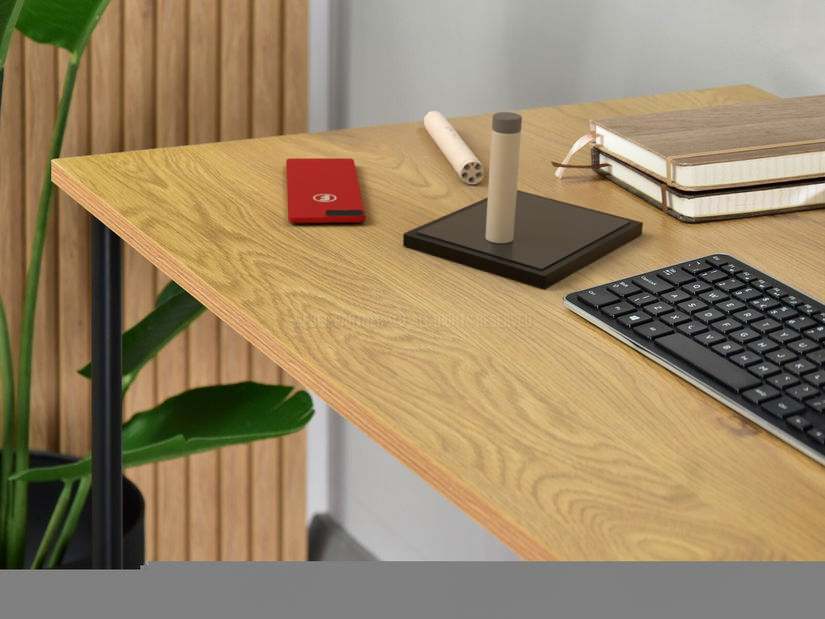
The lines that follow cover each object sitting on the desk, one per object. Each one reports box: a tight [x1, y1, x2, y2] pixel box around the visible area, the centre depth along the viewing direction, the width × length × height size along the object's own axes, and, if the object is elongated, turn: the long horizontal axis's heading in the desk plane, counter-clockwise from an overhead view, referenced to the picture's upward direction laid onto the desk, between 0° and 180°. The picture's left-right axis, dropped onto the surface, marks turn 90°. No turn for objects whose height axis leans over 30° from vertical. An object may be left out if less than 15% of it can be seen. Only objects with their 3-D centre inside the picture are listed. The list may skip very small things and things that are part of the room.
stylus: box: [485, 111, 523, 243], centre depth 84 cm, size 2×2×9 cm
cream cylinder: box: [423, 110, 485, 185], centre depth 108 cm, size 18×2×2 cm, turn 11°
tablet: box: [402, 189, 644, 290], centre depth 89 cm, size 14×12×1 cm
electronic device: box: [285, 157, 366, 224], centre depth 97 cm, size 6×1×15 cm
